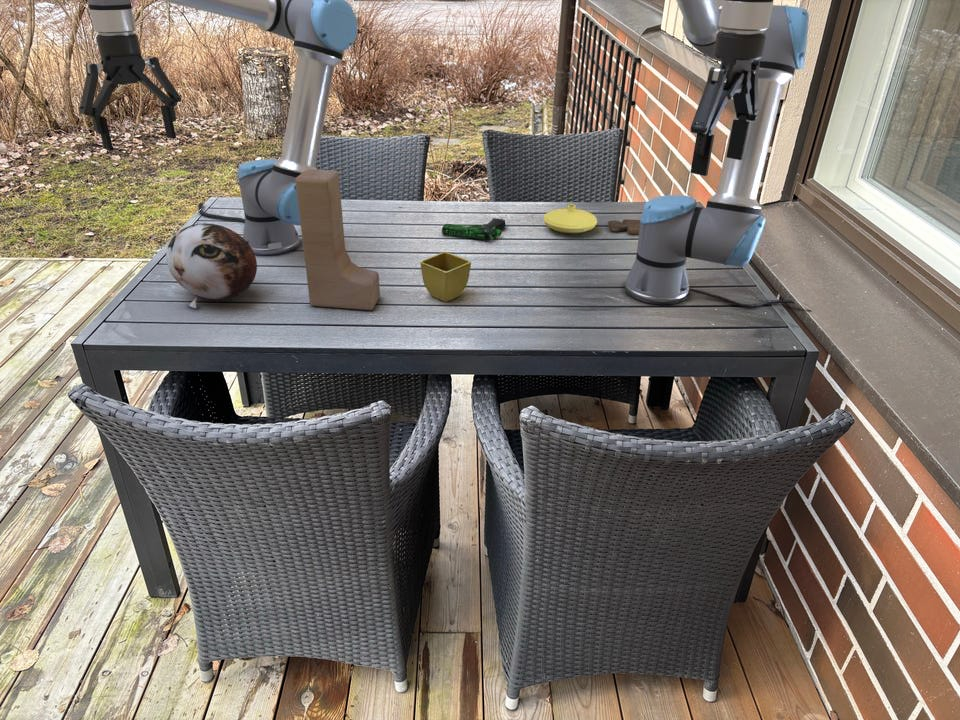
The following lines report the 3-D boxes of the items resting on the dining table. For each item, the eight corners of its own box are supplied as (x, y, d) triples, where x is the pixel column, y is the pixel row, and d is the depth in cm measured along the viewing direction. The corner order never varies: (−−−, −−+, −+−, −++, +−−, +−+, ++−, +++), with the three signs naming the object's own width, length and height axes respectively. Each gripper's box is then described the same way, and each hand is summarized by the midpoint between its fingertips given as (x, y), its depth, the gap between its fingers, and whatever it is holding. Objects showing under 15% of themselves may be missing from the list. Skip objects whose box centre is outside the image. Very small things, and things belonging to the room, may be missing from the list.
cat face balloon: (130, 285, 161) (164, 203, 163) (192, 308, 177) (221, 233, 178) (195, 307, 151) (229, 220, 152) (254, 330, 166) (285, 250, 168)
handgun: (511, 219, 210) (493, 234, 198) (511, 228, 211) (492, 244, 199) (461, 212, 215) (440, 226, 203) (461, 221, 217) (440, 236, 204)
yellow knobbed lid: (559, 216, 220) (561, 193, 217) (605, 227, 212) (608, 204, 209) (532, 230, 209) (533, 207, 206) (580, 242, 201) (582, 218, 198)
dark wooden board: (699, 237, 207) (691, 225, 216) (700, 231, 206) (692, 220, 215) (610, 234, 207) (606, 222, 216) (611, 228, 207) (607, 217, 215)
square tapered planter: (472, 295, 171) (472, 261, 167) (446, 307, 166) (446, 272, 161) (445, 285, 176) (445, 251, 172) (420, 296, 170) (419, 261, 166)
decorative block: (372, 311, 163) (363, 181, 148) (309, 306, 165) (293, 177, 149) (380, 297, 169) (373, 171, 154) (319, 292, 171) (306, 168, 156)
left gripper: (166, 26, 150) (186, 130, 160) (40, 36, 133) (72, 151, 144) (185, 29, 145) (204, 136, 156) (57, 40, 129) (88, 158, 140)
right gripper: (752, 23, 122) (728, 148, 133) (682, 35, 106) (661, 176, 117) (795, 27, 118) (767, 156, 129) (729, 39, 102) (703, 186, 113)
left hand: (141, 143), depth 150 cm, fingers open, 13 cm apart
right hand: (717, 166), depth 123 cm, fingers open, 13 cm apart
